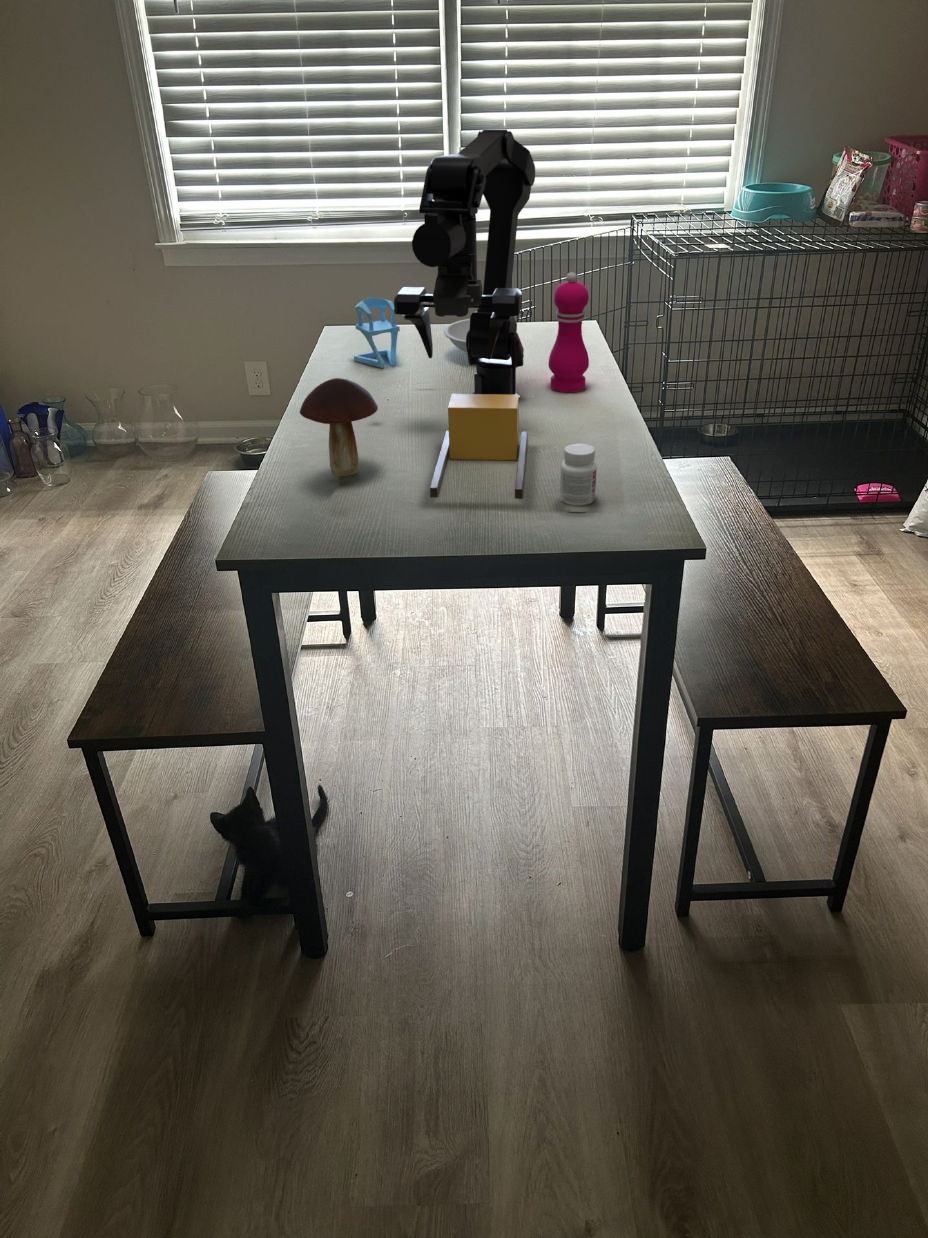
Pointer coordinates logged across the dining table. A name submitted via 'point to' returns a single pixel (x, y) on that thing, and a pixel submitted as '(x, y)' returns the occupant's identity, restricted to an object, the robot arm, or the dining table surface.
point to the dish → (458, 333)
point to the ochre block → (483, 426)
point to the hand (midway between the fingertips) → (459, 358)
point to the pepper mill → (569, 337)
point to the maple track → (444, 457)
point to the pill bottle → (578, 475)
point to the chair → (377, 331)
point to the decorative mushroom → (340, 419)
